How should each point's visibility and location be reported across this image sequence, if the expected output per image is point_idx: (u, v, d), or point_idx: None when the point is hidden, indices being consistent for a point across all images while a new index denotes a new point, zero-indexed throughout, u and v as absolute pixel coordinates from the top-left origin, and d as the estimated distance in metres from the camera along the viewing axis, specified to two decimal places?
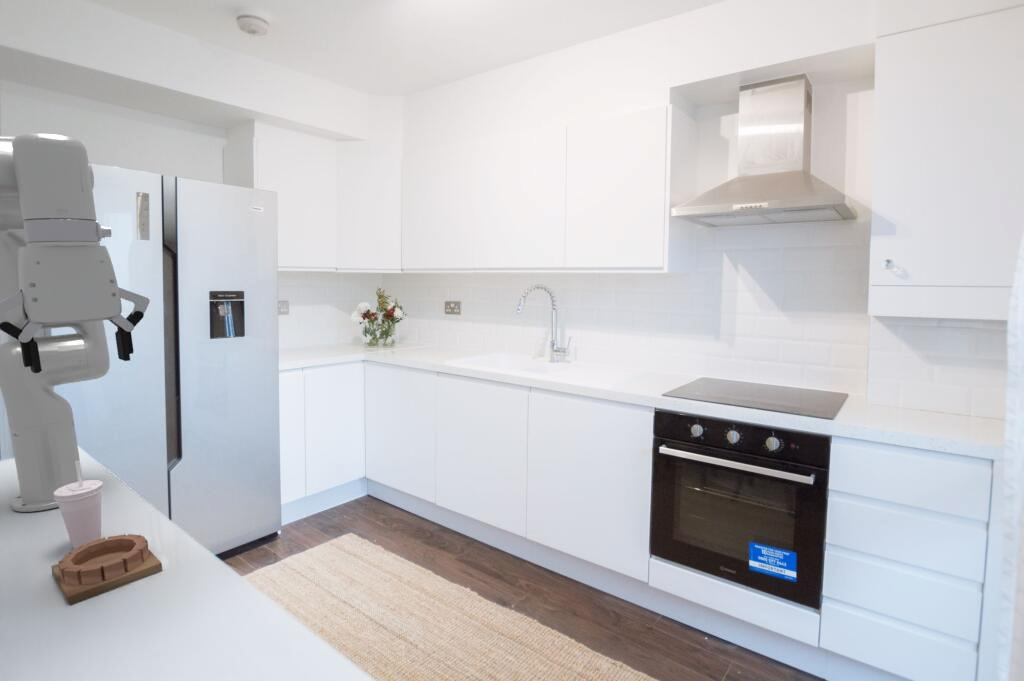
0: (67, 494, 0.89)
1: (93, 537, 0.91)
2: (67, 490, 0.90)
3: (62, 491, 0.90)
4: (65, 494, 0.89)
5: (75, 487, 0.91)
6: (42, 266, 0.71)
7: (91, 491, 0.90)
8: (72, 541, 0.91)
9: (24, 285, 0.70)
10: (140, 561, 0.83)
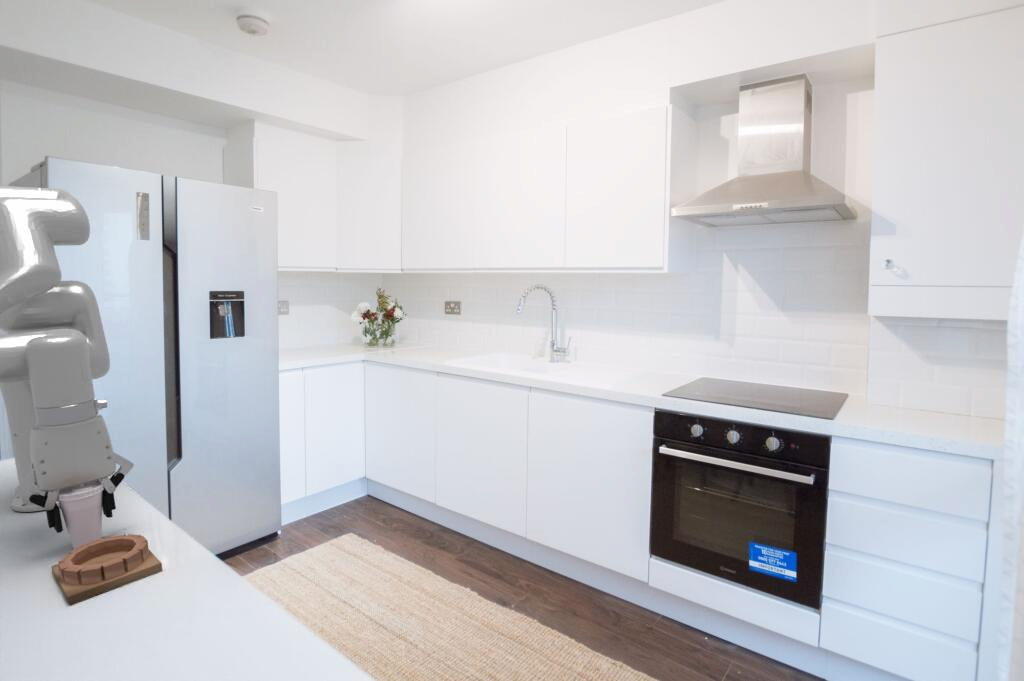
0: (68, 494, 0.89)
1: (93, 537, 0.91)
2: (68, 490, 0.90)
3: (63, 491, 0.90)
4: (66, 494, 0.89)
5: (76, 487, 0.91)
6: (50, 445, 0.86)
7: (92, 491, 0.90)
8: (72, 541, 0.91)
9: (35, 461, 0.86)
10: (140, 561, 0.83)
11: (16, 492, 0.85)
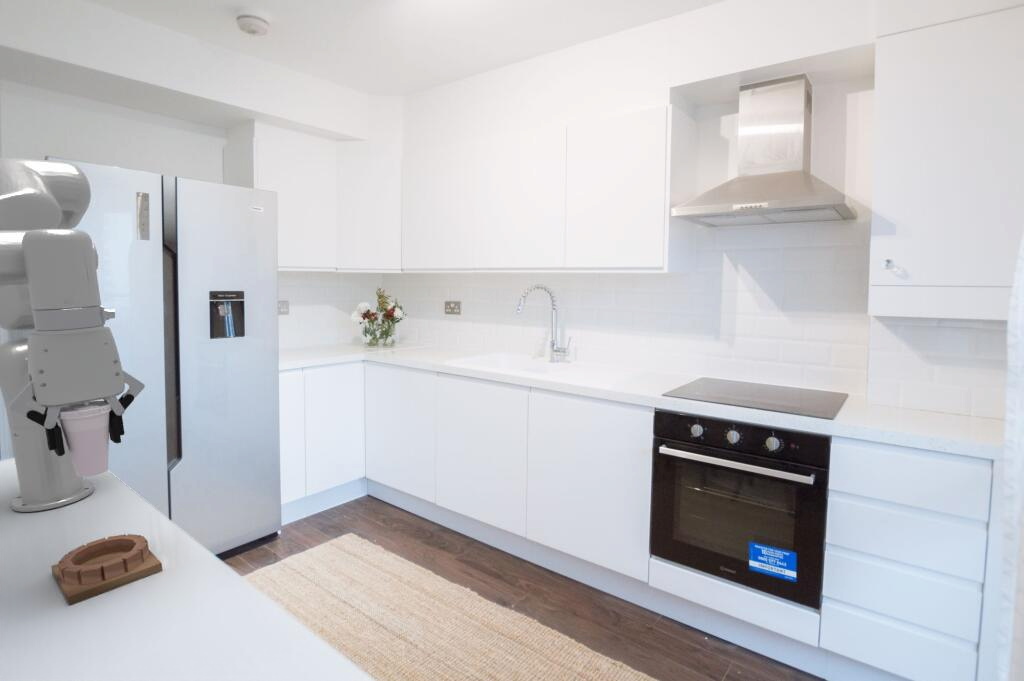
0: (71, 411, 0.78)
1: (99, 463, 0.81)
2: (71, 408, 0.79)
3: (65, 409, 0.79)
4: (69, 411, 0.78)
5: (80, 405, 0.80)
6: (50, 353, 0.75)
7: (98, 410, 0.79)
8: (75, 467, 0.80)
9: (33, 371, 0.75)
10: (140, 561, 0.83)
11: (11, 406, 0.74)
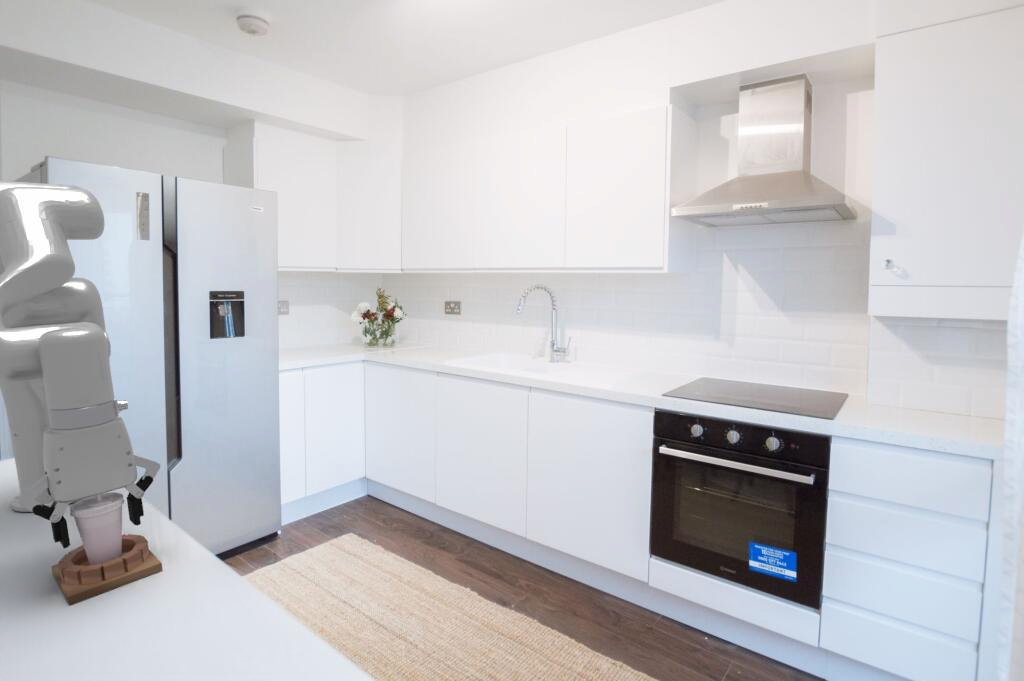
0: (85, 509, 0.80)
1: (113, 556, 0.83)
2: (84, 504, 0.81)
3: (79, 506, 0.81)
4: (83, 509, 0.80)
5: (93, 501, 0.82)
6: (66, 451, 0.77)
7: (111, 505, 0.81)
8: (90, 561, 0.82)
9: (49, 469, 0.77)
10: (140, 561, 0.83)
11: (21, 499, 0.76)
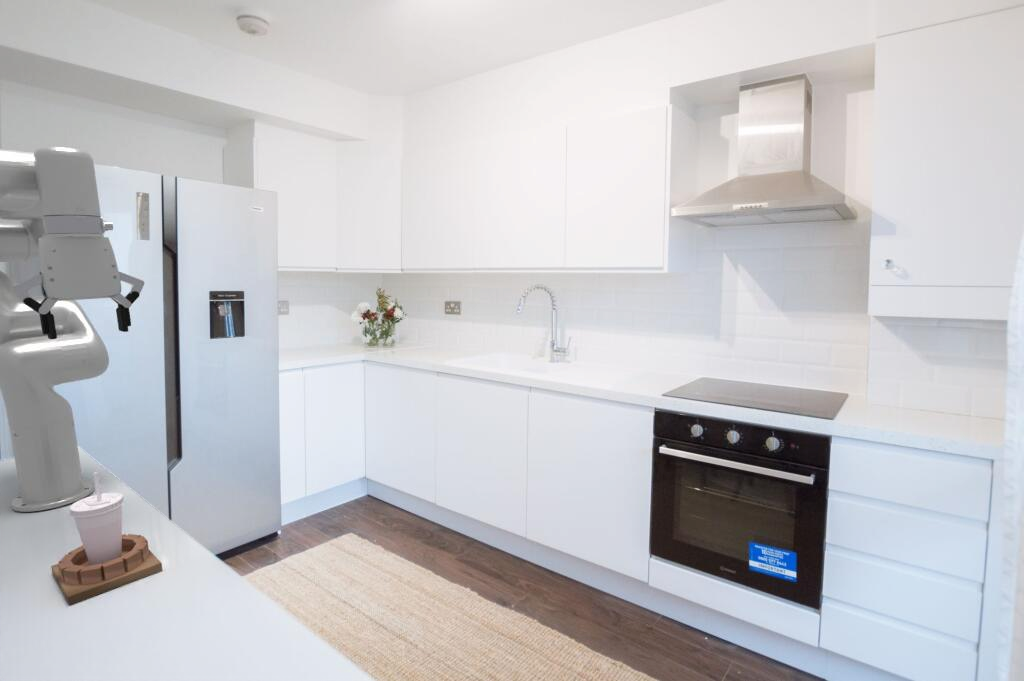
0: (85, 509, 0.80)
1: (113, 556, 0.83)
2: (84, 505, 0.81)
3: (79, 506, 0.81)
4: (83, 509, 0.80)
5: (93, 501, 0.82)
6: (58, 253, 0.88)
7: (111, 505, 0.81)
8: (90, 561, 0.82)
9: (43, 268, 0.88)
10: (140, 561, 0.83)
11: (15, 287, 0.86)
